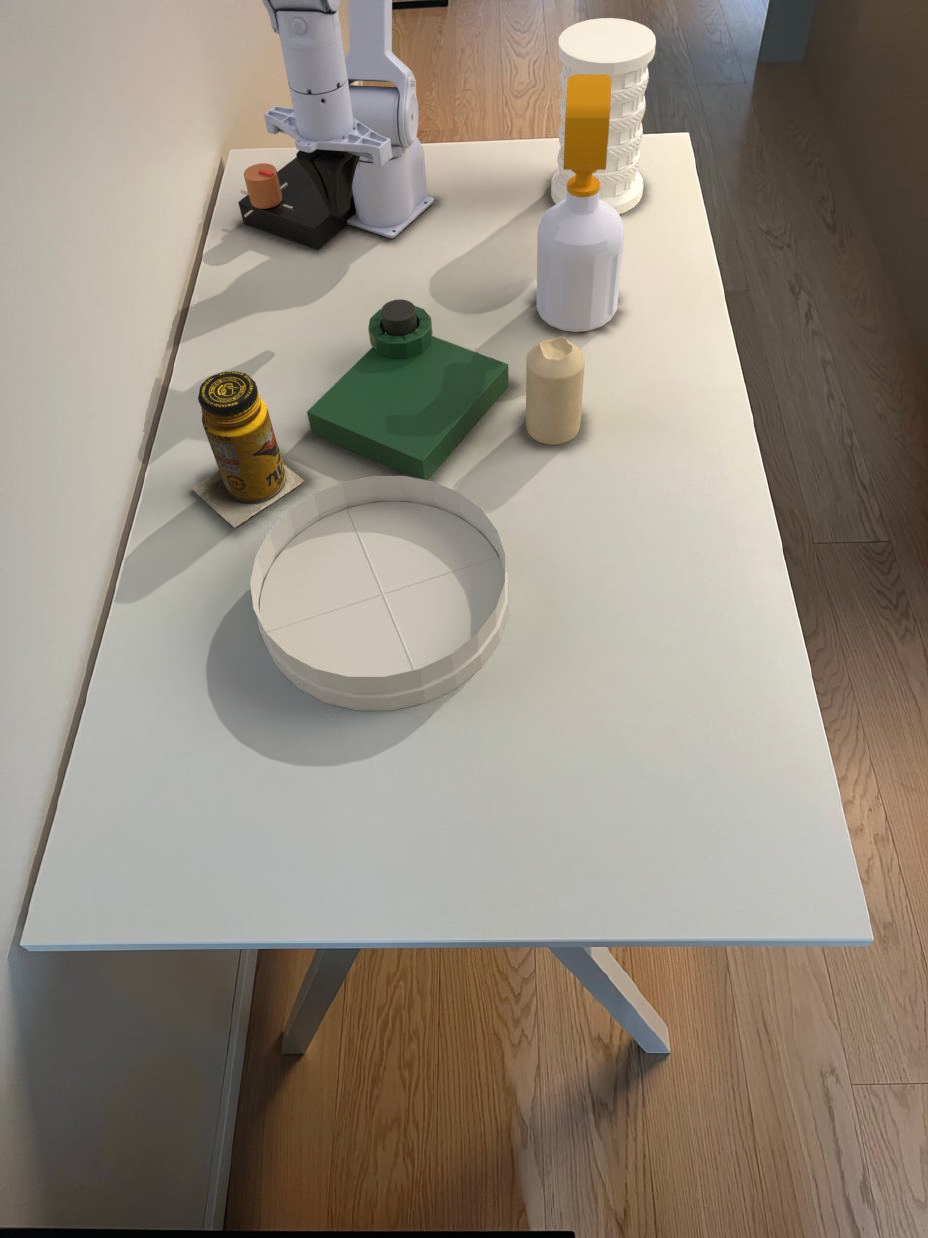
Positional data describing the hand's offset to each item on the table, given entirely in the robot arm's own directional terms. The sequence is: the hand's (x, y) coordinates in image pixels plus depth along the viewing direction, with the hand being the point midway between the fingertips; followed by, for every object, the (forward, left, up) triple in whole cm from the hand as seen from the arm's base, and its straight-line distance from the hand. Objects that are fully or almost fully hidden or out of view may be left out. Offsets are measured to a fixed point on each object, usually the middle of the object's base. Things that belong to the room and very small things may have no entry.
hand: (339, 211), depth 102 cm
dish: (+35, +29, -11) cm, 47 cm away
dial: (-7, -18, -7) cm, 21 cm away
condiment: (+30, +9, -11) cm, 33 cm away
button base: (+13, +17, -10) cm, 24 cm away
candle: (+8, +31, -11) cm, 34 cm away
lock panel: (-12, -16, -10) cm, 22 cm away
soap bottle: (-10, +24, -11) cm, 28 cm away
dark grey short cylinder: (+7, +12, -6) cm, 15 cm away
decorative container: (-32, +15, -11) cm, 37 cm away
